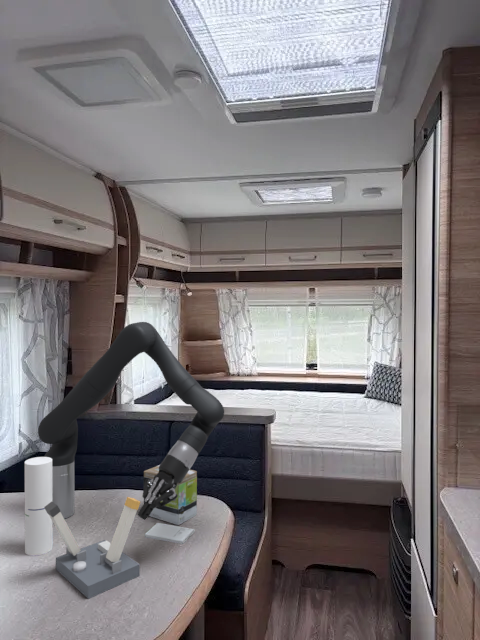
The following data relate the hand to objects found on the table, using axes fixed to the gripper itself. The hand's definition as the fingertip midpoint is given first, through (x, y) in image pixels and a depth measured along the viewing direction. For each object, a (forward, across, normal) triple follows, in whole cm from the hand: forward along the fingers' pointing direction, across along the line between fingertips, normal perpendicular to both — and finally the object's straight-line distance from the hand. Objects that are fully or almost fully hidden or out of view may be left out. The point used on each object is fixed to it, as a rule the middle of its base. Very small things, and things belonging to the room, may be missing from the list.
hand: (141, 517), depth 128 cm
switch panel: (+16, -5, +2) cm, 17 cm away
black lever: (+15, -10, -3) cm, 19 cm away
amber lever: (+12, 0, 0) cm, 12 cm away
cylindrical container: (+20, -27, -2) cm, 34 cm away
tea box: (-8, -20, +26) cm, 34 cm away
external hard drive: (-2, -9, +21) cm, 23 cm away
